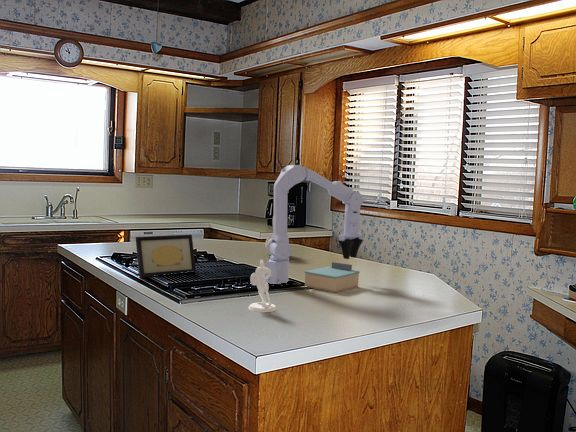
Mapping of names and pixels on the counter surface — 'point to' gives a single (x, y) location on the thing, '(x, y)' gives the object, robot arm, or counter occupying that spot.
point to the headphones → (269, 240)
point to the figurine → (262, 289)
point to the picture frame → (165, 255)
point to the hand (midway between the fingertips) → (349, 258)
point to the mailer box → (331, 282)
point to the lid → (334, 270)
